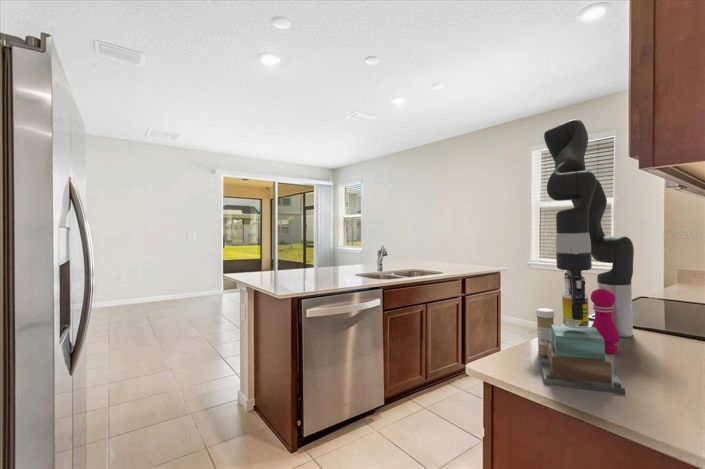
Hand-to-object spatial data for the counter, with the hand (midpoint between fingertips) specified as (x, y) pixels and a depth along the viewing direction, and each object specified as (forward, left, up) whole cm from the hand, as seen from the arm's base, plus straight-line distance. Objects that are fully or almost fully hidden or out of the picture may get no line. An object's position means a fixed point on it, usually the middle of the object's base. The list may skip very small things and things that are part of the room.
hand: (575, 316), depth 88 cm
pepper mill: (-21, +10, -15) cm, 28 cm away
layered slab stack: (0, 0, -15) cm, 15 cm away
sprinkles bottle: (-13, -6, -15) cm, 21 cm away
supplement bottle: (0, 0, -3) cm, 3 cm away
